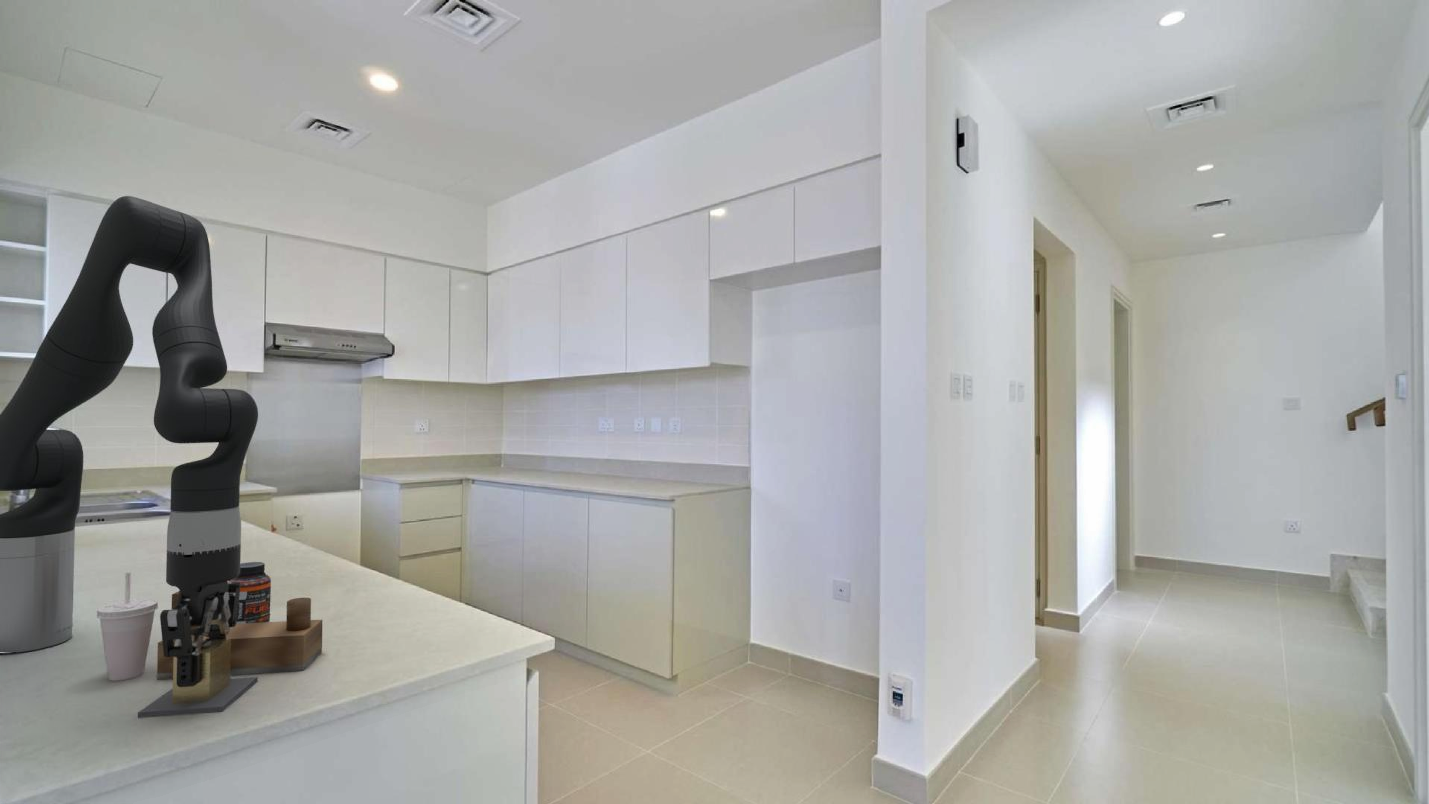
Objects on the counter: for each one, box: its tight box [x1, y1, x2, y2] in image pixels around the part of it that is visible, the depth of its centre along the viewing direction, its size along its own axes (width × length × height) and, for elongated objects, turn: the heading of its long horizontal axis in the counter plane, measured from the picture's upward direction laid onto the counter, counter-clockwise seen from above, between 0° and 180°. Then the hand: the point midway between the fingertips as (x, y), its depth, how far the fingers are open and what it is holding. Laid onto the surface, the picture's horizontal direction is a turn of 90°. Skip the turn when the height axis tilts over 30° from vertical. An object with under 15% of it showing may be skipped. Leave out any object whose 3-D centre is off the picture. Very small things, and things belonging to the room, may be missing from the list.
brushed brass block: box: [172, 639, 231, 703], centre depth 84 cm, size 4×5×7 cm
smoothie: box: [96, 572, 159, 681], centre depth 91 cm, size 6×6×14 cm
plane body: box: [156, 590, 323, 681], centre depth 95 cm, size 18×7×11 cm, turn 102°
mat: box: [137, 676, 259, 718], centre depth 84 cm, size 9×9×1 cm
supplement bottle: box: [228, 561, 272, 624], centre depth 108 cm, size 6×6×11 cm
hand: (201, 675), depth 84 cm, fingers open, 5 cm apart
